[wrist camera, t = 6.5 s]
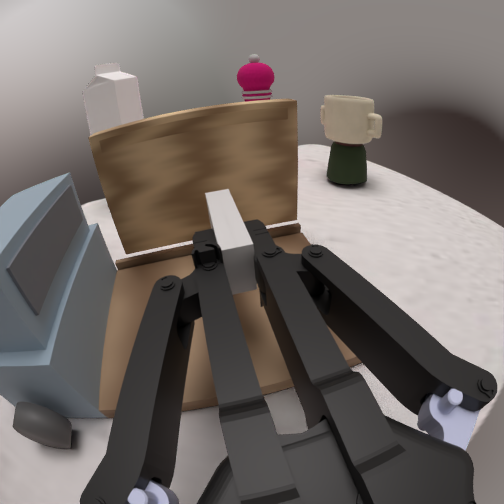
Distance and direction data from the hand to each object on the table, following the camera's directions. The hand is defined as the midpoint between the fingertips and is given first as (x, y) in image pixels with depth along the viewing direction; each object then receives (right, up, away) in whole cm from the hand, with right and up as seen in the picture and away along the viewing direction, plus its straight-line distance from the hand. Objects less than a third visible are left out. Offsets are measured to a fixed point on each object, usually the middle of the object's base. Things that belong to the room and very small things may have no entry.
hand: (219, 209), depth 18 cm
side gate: (-2, -1, +8) cm, 8 cm away
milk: (-16, +5, +22) cm, 28 cm away
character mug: (+16, +8, +22) cm, 28 cm away
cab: (-13, -10, 0) cm, 16 cm away
